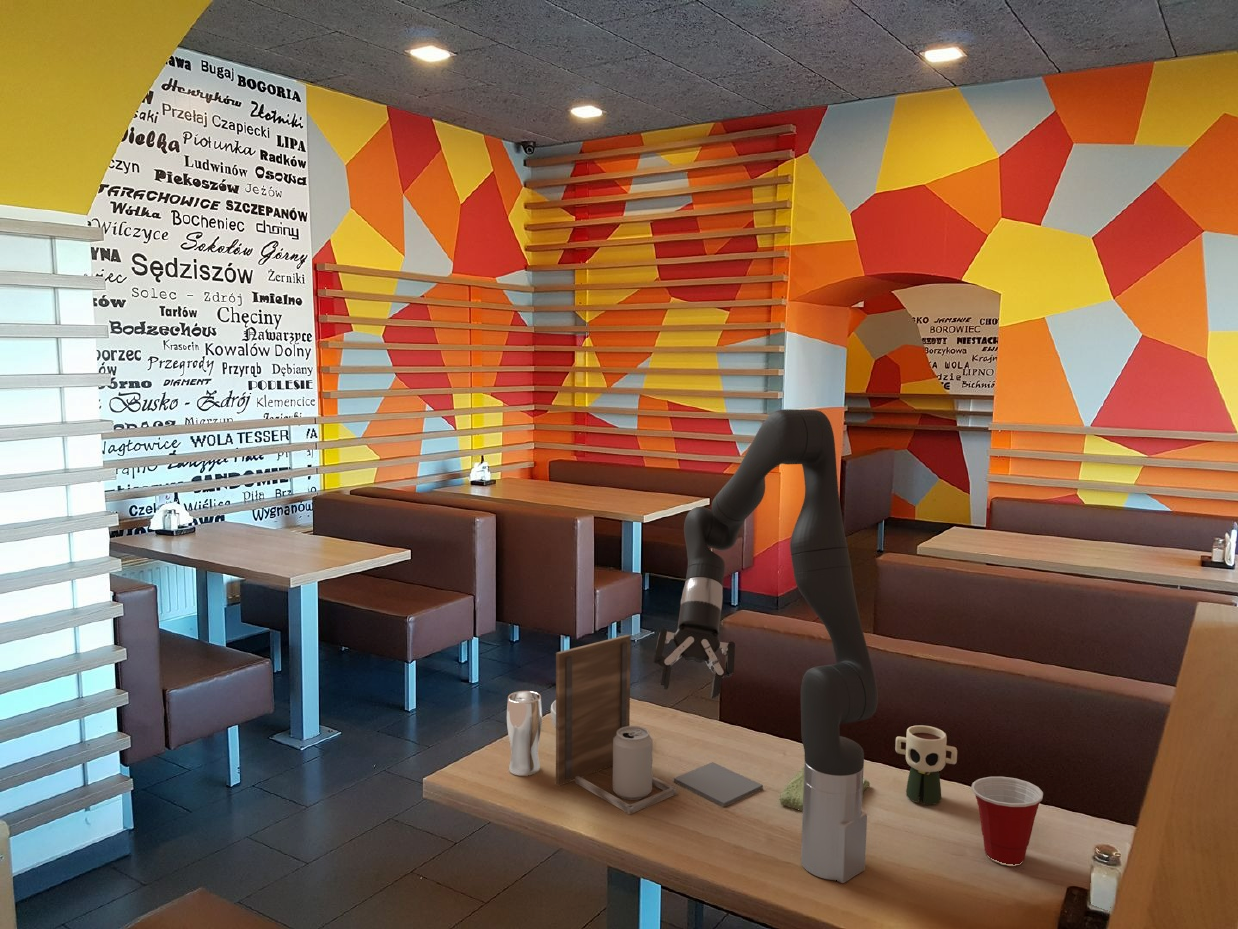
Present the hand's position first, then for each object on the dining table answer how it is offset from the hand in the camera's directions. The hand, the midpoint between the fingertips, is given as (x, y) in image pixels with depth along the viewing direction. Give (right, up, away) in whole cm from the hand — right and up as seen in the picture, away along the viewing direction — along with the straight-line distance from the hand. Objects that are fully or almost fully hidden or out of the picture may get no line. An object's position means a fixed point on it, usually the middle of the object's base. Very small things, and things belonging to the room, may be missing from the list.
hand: (689, 693), depth 156 cm
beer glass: (-31, -21, +21) cm, 43 cm away
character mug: (+45, -23, +10) cm, 51 cm away
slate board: (+7, -22, +15) cm, 27 cm away
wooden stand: (-11, -22, +13) cm, 28 cm away
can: (-10, -22, +11) cm, 27 cm away
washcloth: (+26, -23, +11) cm, 36 cm away
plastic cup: (+51, -25, -10) cm, 57 cm away
